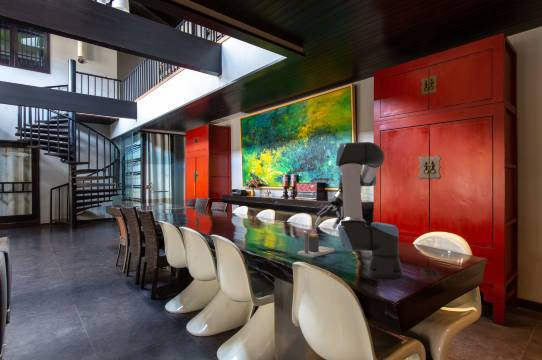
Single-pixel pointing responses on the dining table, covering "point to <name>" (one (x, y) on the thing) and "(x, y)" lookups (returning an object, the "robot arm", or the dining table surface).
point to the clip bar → (301, 230)
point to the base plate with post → (313, 254)
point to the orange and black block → (313, 243)
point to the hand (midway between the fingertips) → (324, 226)
